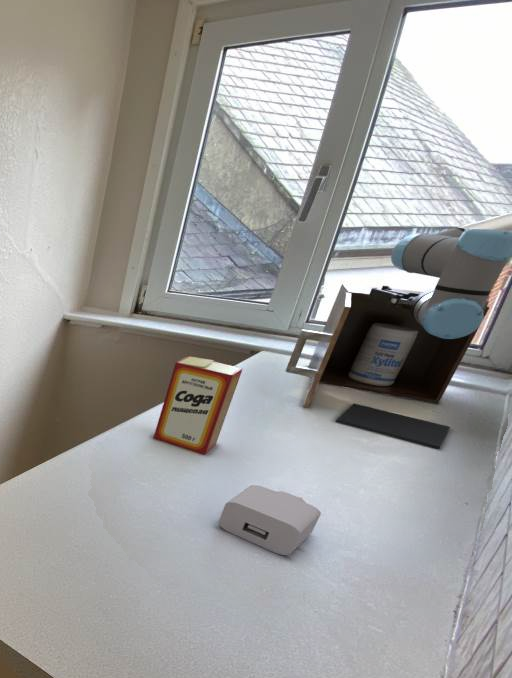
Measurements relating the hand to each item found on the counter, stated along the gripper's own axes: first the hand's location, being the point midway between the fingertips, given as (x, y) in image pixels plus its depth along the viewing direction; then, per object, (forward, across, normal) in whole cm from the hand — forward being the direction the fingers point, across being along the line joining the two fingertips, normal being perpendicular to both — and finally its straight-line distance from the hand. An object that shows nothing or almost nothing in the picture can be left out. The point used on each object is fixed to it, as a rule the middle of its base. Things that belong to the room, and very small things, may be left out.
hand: (419, 295), depth 129 cm
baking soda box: (-67, -35, -25) cm, 79 cm away
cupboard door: (-12, -16, -25) cm, 32 cm away
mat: (-26, +1, -25) cm, 36 cm away
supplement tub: (+9, 0, -24) cm, 26 cm away
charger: (-92, -20, -25) cm, 97 cm away
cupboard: (+10, 0, -24) cm, 26 cm away
